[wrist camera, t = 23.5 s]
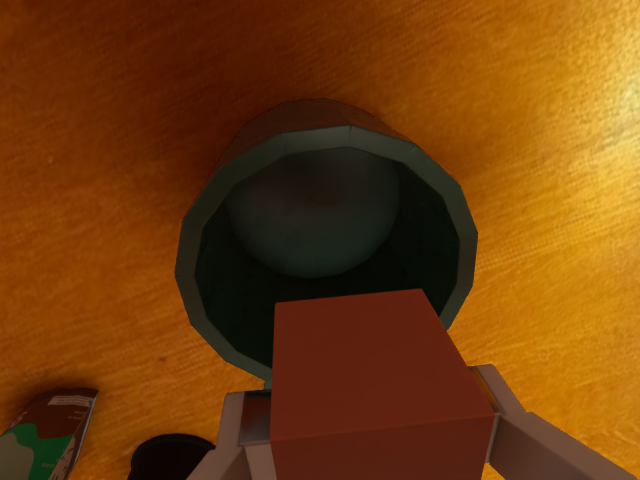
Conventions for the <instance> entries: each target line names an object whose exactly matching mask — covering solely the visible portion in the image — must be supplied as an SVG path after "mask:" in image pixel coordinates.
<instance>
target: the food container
mask: <svg viewBox="0 0 640 480" xmlns="http://www.w3.org/2000/svg"><path fill="white" fill-rule="evenodd" d="M98 392H99V391H96V390H90V389H84V388H69V389H59V390H55V391H50V392H46V393H43V394H42V395H40V396H38V397H37V398H35V399H33V400H31V401H30V402H29V403H28V405H27V406H26V407H25V408H24V409H23V411H22V412H21V413H20V414H19V415H18V416H17V418H16V419H15V420H14V421H13V422H12V423H11V425H10V426H9V427H8V428H7V429H6V430H5V432H4V433H3V434H2V435H1V436H0V480H68V478H69V476H70V474H71V472H72V470H73V468H74V466H75V464H76V462H77V459H78V456H79V453H80V449H81V446H82V443H83V440H84V437H85V434H86V430H87V427H88V424H89V421H90V418H91V414H92V411H93V408H94V405H95V402H96V399H97V395H98Z"/></svg>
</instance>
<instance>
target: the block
mask: <svg viewBox="0 0 640 480" xmlns="http://www.w3.org/2000/svg"><path fill="white" fill-rule="evenodd" d="M494 419H495V413H494V411H493V409H492V408H491V406H490V404H489V402H488V401H487V399H486V397H485V396H484V394H483V392H482V391H481V389H480V387H479V385H478V384H477V382H476V380H475V379H474V377H473V375H472V374H471V372H470V370H469V368H468V367H467V365H466V363H465V362H464V360H463V358H462V357H461V355H460V353H459V351H458V350H457V348H456V346H455V345H454V343H453V341H452V340H451V338H450V336H449V335H448V333H447V331H446V329H445V328H444V326H443V324H442V323H441V321H440V319H439V318H438V316H437V314H436V312H435V311H434V309H433V307H432V306H431V304H430V302H429V301H428V299H427V297H426V295H425V294H424V292H423V290H422V289H410V290H400V291H390V292H380V293H370V294H360V295H350V296H340V297H330V298H320V299H309V300H299V301H289V302H279V303H276V304H275V318H274V343H273V369H272V394H271V419H270V445H271V450H272V456H273V461H274V467H275V472H276V477H277V480H481V477H482V472H483V468H484V463H485V459H486V455H487V450H488V446H489V441H490V437H491V432H492V428H493V424H494Z"/></svg>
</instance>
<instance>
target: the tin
mask: <svg viewBox="0 0 640 480" xmlns="http://www.w3.org/2000/svg"><path fill="white" fill-rule="evenodd" d="M477 241H478V232H477V229H476V226H475V224H474V221H473V218H472V216H471V213H470V210H469V208H468V205H467V202H466V199H465V197H464V194H463V191H462V189H461V186H460V185H459V184H458V182H457V181H456V180H455V179H454V178H453V177H452V176H451V175H449V174H448V173H447V172H446V171H445V170H444V169H443V168H442V167H441V166H440V165H438V164H437V163H436V162H435V161H434V160H433V159H432V158H431V157H430V156H429V155H428V154H426V153H425V152H424V151H423V150H422V149H421V148H420V147H419V146H418V145H416V144H415V143H413V142H412V141H410V140H409V139H407V138H406V137H404V136H403V135H401V134H400V133H398V132H397V131H395V130H394V129H392V128H391V127H389V126H388V125H386V124H385V123H383V122H382V121H380V120H379V119H377V118H376V117H374V116H373V115H371V114H370V113H368V112H366V111H365V110H361V109H358V108H355V107H352V106H349V105H347V104H344V103H340V102H336V101H333V100H329V99H324V98H321V99H307V100H298V101H293V102H287V103H281V104H279V105H277V106H275V107H274V108H272V109H270V110H268V111H266V112H264V113H262V114H260V115H259V116H258V117H256V118H255V119H253V120H252V121H250V122H248V123H247V124H245V125H244V126H243V127H242V128H241V129H240V130H239V132H238V133H237V135H236V136H235V138H234V139H233V140H232V142H231V143H230V145H229V146H228V148H227V149H226V150H225V152H224V153H223V155H222V156H221V158H220V159H219V161H218V162H217V164H216V166H215V167H214V169H213V170H212V172H211V174H210V175H209V177H208V179H207V180H206V182H205V183H204V185H203V187H202V188H201V190H200V192H199V193H198V195H197V197H196V198H195V200H194V201H193V203H192V205H191V206H190V208H189V210H188V211H187V213H186V215H185V216H184V218H183V221H182V226H181V232H180V239H179V246H178V252H177V259H176V265H175V272H174V273H175V279H176V282H177V285H178V288H179V291H180V294H181V297H182V300H183V303H184V306H185V309H186V312H187V315H188V318H189V321H190V323H191V325H192V326H193V327H194V328H195V329H196V330H197V332H198V333H199V334H200V335H201V336H202V337H203V338H204V339H205V340H206V341H207V342H208V343H209V344H210V346H211V347H212V348H213V349H214V350H215V351H216V352H217V353H218V354H219V355H220V356H221V357H222V358H223V359H224V360H225V361H226V362H228V363H230V364H232V365H234V366H237V367H239V368H241V369H243V370H245V371H247V372H249V373H251V374H253V375H255V376H257V377H259V378H261V379H263V380H265V381H267V382H268V381H269V382H272V369H273V343H274V318H275V304H276V303H279V302H289V301H299V300H309V299H320V298H330V297H340V296H350V295H360V294H370V293H380V292H390V291H400V290H410V289H422V290H423V292H424V294H425V295H426V297H427V299H428V301H429V302H430V304H431V306H432V307H433V309H434V311H435V312H436V314H437V316H438V318H439V319H440V321H441V323H442V324H443V326H444V328H445V329H446V331H447V330H448V329H449V328H450V326H451V324H452V323H453V321H454V319H455V317H456V315H457V314H458V312H459V310H460V308H461V306H462V304H463V303H464V301H465V299H466V297H467V295H468V294H469V292H470V290H471V288H472V286H473V280H474V270H475V260H476V251H477Z"/></svg>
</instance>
